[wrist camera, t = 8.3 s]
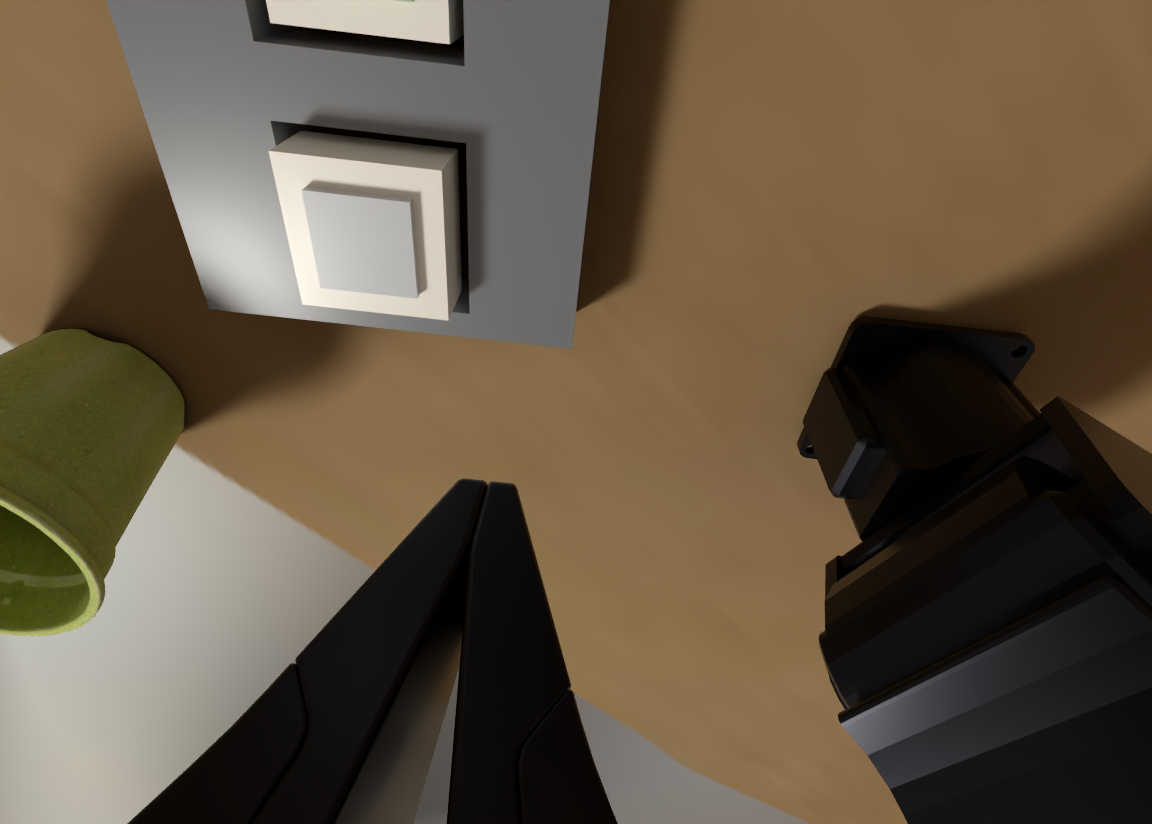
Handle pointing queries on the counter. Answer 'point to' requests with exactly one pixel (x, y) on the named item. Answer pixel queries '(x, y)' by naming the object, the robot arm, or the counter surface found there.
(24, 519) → the plant pot
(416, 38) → the key sage
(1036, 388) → the counter surface
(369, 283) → the key slate
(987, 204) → the counter surface
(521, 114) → the gray key board
